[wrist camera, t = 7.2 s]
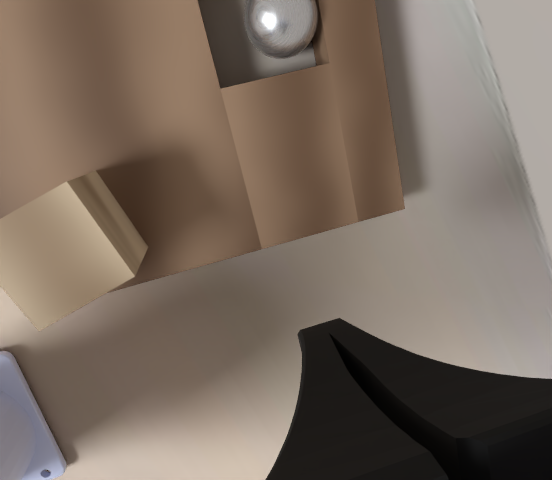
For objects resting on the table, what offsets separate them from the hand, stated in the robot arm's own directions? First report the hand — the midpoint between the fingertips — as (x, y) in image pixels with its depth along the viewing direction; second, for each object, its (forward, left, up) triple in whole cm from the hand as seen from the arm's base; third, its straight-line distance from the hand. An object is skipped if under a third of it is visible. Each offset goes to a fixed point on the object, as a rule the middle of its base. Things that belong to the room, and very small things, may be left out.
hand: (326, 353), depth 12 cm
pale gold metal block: (-8, +4, -8) cm, 12 cm away
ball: (+3, +11, -9) cm, 14 cm away
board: (-2, +9, -10) cm, 14 cm away
